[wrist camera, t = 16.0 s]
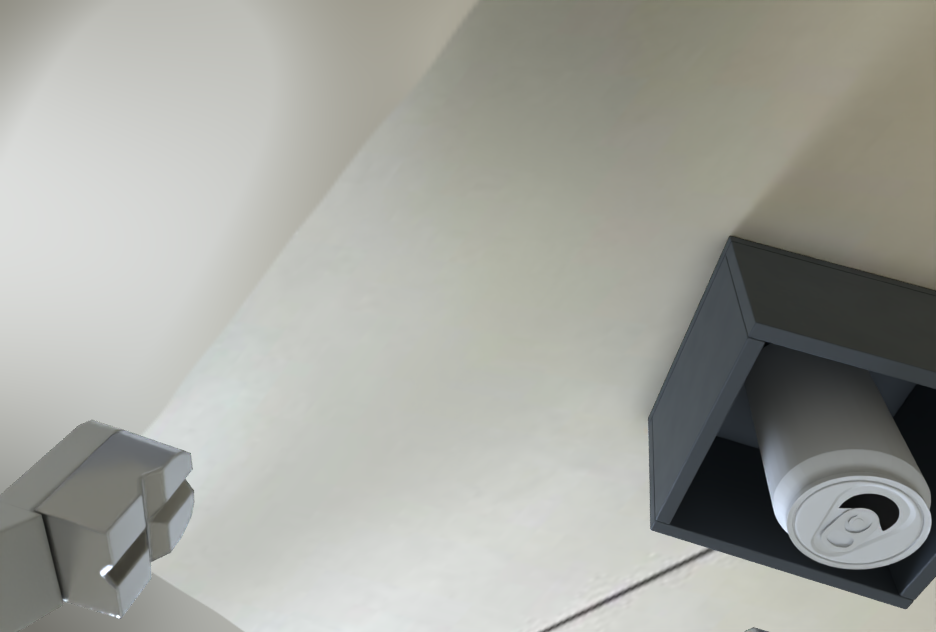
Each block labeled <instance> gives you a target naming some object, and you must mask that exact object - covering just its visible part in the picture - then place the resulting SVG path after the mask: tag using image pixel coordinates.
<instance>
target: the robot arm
mask: <svg viewBox="0 0 936 632" xmlns="http://www.w3.org/2000/svg"><path fill="white" fill-rule="evenodd" d="M192 470H193V468H192V459H191V453H189V452H186V451H184V450H181V449H178V448H175V447H172V446H169V445H166V444H163V443H160V442H157V441H155V440H152V439H149V438H146V437H143V436H140V435H137V434H134V433H131V432H128V431H125V430H122V429H119V428H116V427H113V426H110V425H107V424H104V423H100V422H98V421H95V420H90V421H88V422H85V423H83V424H80V425H79V426H77V427H76V428H75V429H74V430H73V431H72V432H71V433H70V434H69V435H67V436H66V437H65V438H64V439H63V440H62V441H60V442H59V443H58V444H57V445H56V446H55V447H54V448H53V449H51V450H50V451H49V452H48V453H47V454H46V455H45V456H44V457H42V458H41V459H40V460H39V461H38V462H37V463H36V464H35V465H33V466H32V467H31V468H30V469H29V470H28V471H27V472H25V473H24V474H23V475H22V476H21V477H20V478H19V479H18V480H16V481H15V482H14V483H13V484H12V485H11V486H10V487H9V488H7V489H6V490H5V491H4V492H3V493H2V494H1V495H0V632H19V631H20V630H22V629H23V628H25V627H27V626H29V625H30V624H32V623H34V622H36V621H37V620H39V619H40V618H42V617H44V616H46V615H47V614H49V613H51V612H52V611H54V610H56V609H58V608H59V607H61V606H62V605H63V601H65V602H68V603H71V604H74V605H78V606H81V607H84V608H88V609H91V610H94V611H97V612H100V613H104V614H107V615H110V616H113V617H117V618H120V619H121V618H122V617H123V615H124V614H125V612H126V611H127V610H128V609H129V607H130V606H131V605H132V603H133V602H134V601H135V599H136V598H137V597H138V595H139V594H140V593H141V591H142V590H143V589H144V588H145V586H146V585H147V583H148V582H149V581H150V580H151V562H152V561H154V560H156V559H158V558H160V557H163V556H165V555H167V554H169V553H171V551H172V550H173V549H174V547H175V546H176V544H177V543H178V542H179V540H180V539H181V537H182V536H183V534H184V532H185V529H186V527H187V525H188V523H189V521H190V519H191V516H192V511H193V506H194V490H193V489H192V487H191V486H190V485H189V483H188V482H187V481H186V479H185V478H186V477H187V476H188V475H189V473H190V472H191V471H192ZM745 632H768V631H765V630H761V629H758V628H755V627H753V628H751V629H748V630H746V631H745Z"/></svg>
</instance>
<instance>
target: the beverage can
mask: <svg viewBox="0 0 936 632" xmlns="http://www.w3.org/2000/svg"><path fill="white" fill-rule="evenodd" d="M745 386H746V392H747V396H748V400H749V405H750V409H751V413H752V418H753V422H754V427H755V431H756V435H757V440H758V444H759V448H760V453H761V457H762V462H763V466H764V470H765V475H766V479H767V484H768V488H769V492H770V497H771V501H772V505H773V510H774V514H775V516H776V519H777V520H778V522H779V524H780V525H781V527H782V528H783V529H784V530H785V531H786V532H787V533H788V534H789V537H790V539H791V541H792V542H793V544H794V545H795V546H796V547H797V548H798V549H799V550H800V551H801V552H802V553H803V554H805V555H806V556H808V557H809V558H811V559H813V560H815V561H817V562H820V563H822V564H825V565H828V566H832V567H837V568H843V569H871V568H877V567H882V566H886V565H889V564H892V563H895V562H898V561H900V560H902V559H904V558H906V557H907V556H909V555H911V554H912V553H914V552H915V551H916V550H917V549H918V548H919V547H920V546H921V545H922V544H923V543H924V541H925V540H926V539H927V537H928V535H929V533H930V529H931V524H932V520H931V513H930V511H929V510H930V505H931V493H930V490H929V487H928V485H927V483H926V481H925V479H924V477H923V475H922V473H921V471H920V469H919V467H918V466H917V464H916V462H915V460H914V458H913V456H912V454H911V452H910V450H909V448H908V446H907V444H906V442H905V440H904V439H903V437H902V435H901V433H900V431H899V429H898V427H897V425H896V423H895V421H894V419H893V417H892V415H891V413H890V412H889V410H888V408H887V406H886V404H885V402H884V400H883V398H882V396H881V394H880V392H879V390H878V388H877V386H876V385H875V383H874V381H873V379H872V377H871V375H870V373H869V371H868V370H866V369H862V368H859V367H855V366H851V365H848V364H844V363H841V362H837V361H834V360H830V359H827V358H823V357H819V356H816V355H812V354H809V353H805V352H802V351H798V350H794V349H791V348H787V347H784V346H780V345H777V344H773V343H770V344H769V345H767V346H766V347H764V348H763V349H762V350H761V352H760V354H759V356H758V358H757V359H756V361H755V363H754V365H753V367H752V369H751V371H750V373H749V375H748V377H747V378H746V380H745Z"/></svg>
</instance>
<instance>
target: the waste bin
mask: <svg viewBox="0 0 936 632" xmlns="http://www.w3.org/2000/svg"><path fill="white" fill-rule="evenodd" d="M770 343H773V344H777V345H780V346H784V347H787V348H791V349H794V350H798V351H802V352H805V353H809V354H812V355H816V356H819V357H823V358H827V359H830V360H834V361H837V362H841V363H844V364H848V365H851V366H855V367H859V368H862V369H866V370H868V371H869V373H870V375H871V377H872V379H873V381H874V383H875V385H876V386H877V388H878V390H879V392H880V394H881V396H882V398H883V400H884V402H885V404H886V406H887V408H888V410H889V412H890V413H891V415H892V417H893V419H894V421H895V423H896V425H897V427H898V429H899V431H900V433H901V435H902V437H903V439H904V440H905V442H906V444H907V446H908V448H909V450H910V452H911V454H912V456H913V458H914V460H915V462H916V464H917V466H918V467H919V469H920V471H921V473H922V475H923V477H924V479H925V481H926V483H927V485H928V487H929V490H930V493H931V505H930V510H929V511H930V513H931V520H932V524H931V529H930V533H929V535H928V537H927V539H926V540H925V541H924V543H923V544H922V545H921V546H920V547H919V548H918V549H917V550H916V551H915V552H914V553H912V554H911V555H909V556H907V557H906V558H904V559H902V560H900V561H898V562H895V563H892V564H889V565H886V566H882V567H877V568H871V569H843V568H837V567H832V566H828V565H825V564H822V563H820V562H817V561H815V560H813V559H811V558H809V557H808V556H806V555H805V554H803V553H802V552H801V551H800V550H799V549H798V548H797V547H796V546H795V545H794V544H793V542H792V541H791V539H790V537H789V534H788V533H787V532H786V531H785V530H784V529H783V528H782V527H781V525H780V524H779V522H778V520H777V519H776V516H775V514H774V510H773V505H772V501H771V497H770V492H769V488H768V484H767V479H766V475H765V470H764V466H763V462H762V457H761V453H760V448H759V444H758V440H757V435H756V431H755V427H754V422H753V418H752V413H751V409H750V405H749V400H748V396H747V392H746V386H745V380H746V378H747V377H748V375H749V373H750V371H751V369H752V367H753V365H754V363H755V361H756V359H757V358H758V356H759V354H760V352H761V350H762V349H763V348H764V347H766V346H767V345H769V344H770ZM648 425H649V426H648V427H649V478H650V529H651V530H652V531H655V532H659V533H662V534H665V535H668V536H672V537H675V538H678V539H681V540H684V541H688V542H691V543H694V544H697V545H701V546H704V547H707V548H710V549H713V550H717V551H720V552H723V553H726V554H729V555H733V556H736V557H739V558H742V559H746V560H749V561H752V562H755V563H758V564H762V565H765V566H768V567H771V568H774V569H778V570H781V571H784V572H787V573H791V574H794V575H797V576H800V577H803V578H807V579H810V580H813V581H816V582H819V583H823V584H826V585H829V586H832V587H836V588H839V589H842V590H845V591H848V592H852V593H855V594H858V595H861V596H864V597H868V598H871V599H874V600H877V601H881V602H884V603H887V604H890V605H893V606H897V607H900V608H903V609H907V608H908V607H909V606H910V605H911V604H912V603H913V601H914V600H915V599H916V598H917V597H918V596H919V595H920V594H921V592H922V591H923V590H924V589H925V588H926V587H927V586H928V585H929V584H930V582H931V581H932V580H933V579H934V578H935V577H936V291H934V290H930V289H927V288H923V287H919V286H915V285H912V284H908V283H904V282H900V281H897V280H893V279H889V278H885V277H882V276H878V275H874V274H871V273H867V272H863V271H859V270H856V269H852V268H848V267H844V266H841V265H837V264H833V263H829V262H826V261H822V260H818V259H815V258H811V257H807V256H803V255H800V254H796V253H792V252H788V251H785V250H781V249H777V248H773V247H770V246H766V245H762V244H758V243H755V242H751V241H747V240H744V239H740V238H736V237H732V236H730V237H729V238H728V241H727V243H726V245H725V247H724V249H723V252H722V254H721V256H720V258H719V261H718V263H717V265H716V267H715V270H714V272H713V274H712V276H711V279H710V281H709V283H708V285H707V288H706V290H705V292H704V294H703V297H702V299H701V301H700V303H699V306H698V308H697V310H696V312H695V315H694V317H693V319H692V321H691V323H690V326H689V328H688V330H687V332H686V335H685V337H684V339H683V341H682V344H681V346H680V348H679V350H678V353H677V355H676V357H675V359H674V362H673V364H672V366H671V368H670V371H669V373H668V375H667V377H666V380H665V382H664V384H663V386H662V389H661V391H660V393H659V395H658V398H657V400H656V402H655V404H654V406H653V409H652V411H651V413H650V415H649V418H648Z"/></svg>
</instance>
